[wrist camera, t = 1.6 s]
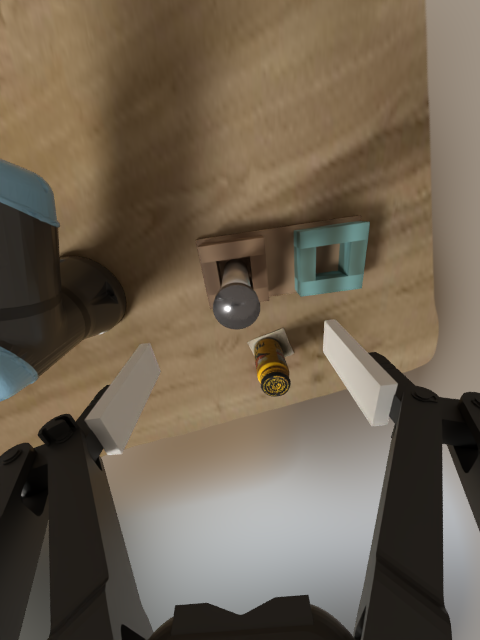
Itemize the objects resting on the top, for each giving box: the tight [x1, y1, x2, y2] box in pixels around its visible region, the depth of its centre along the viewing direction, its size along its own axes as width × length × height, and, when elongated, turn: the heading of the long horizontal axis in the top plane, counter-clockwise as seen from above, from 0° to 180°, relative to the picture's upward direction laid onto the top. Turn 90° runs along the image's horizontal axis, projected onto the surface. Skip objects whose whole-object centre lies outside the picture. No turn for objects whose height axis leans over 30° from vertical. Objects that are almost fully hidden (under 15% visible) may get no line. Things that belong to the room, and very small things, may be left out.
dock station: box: [195, 216, 370, 309], centre depth 37 cm, size 28×12×5 cm, turn 98°
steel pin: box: [213, 259, 260, 329], centre depth 31 cm, size 5×5×18 cm
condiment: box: [247, 328, 294, 396], centre depth 42 cm, size 7×8×12 cm
